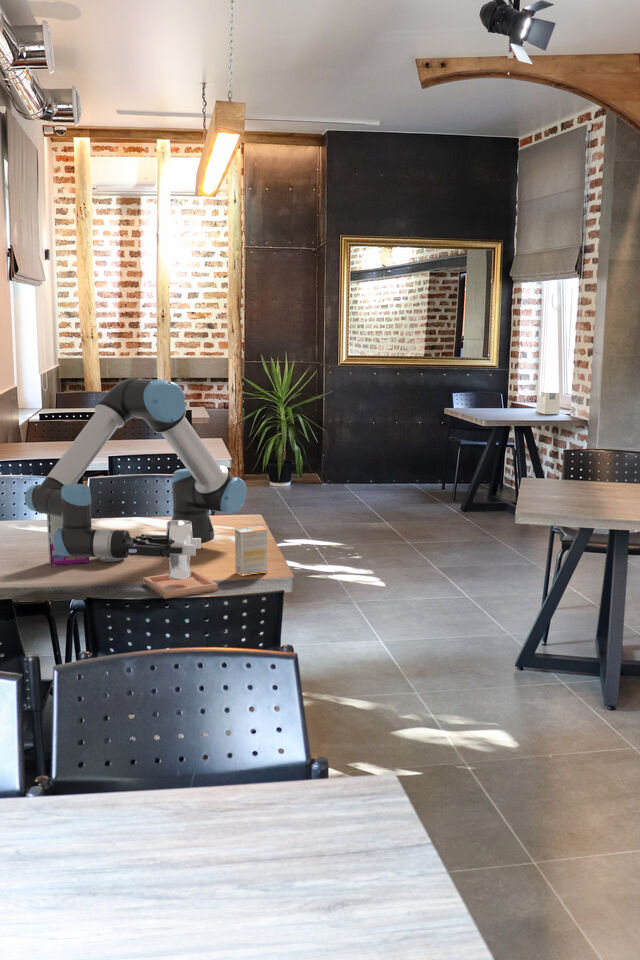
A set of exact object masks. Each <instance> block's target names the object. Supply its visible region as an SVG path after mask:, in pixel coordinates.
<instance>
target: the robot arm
mask: <svg viewBox="0 0 640 960" xmlns="http://www.w3.org/2000/svg"><path fill="white" fill-rule="evenodd" d="M185 401H186V396H185V393H184V390H183V389H182V388H181V386H179V384H177V383H176V382H173V381H170V380H166V379H160V378H158V379H156V378H155V379H152V378H151V379H150V378H139V377H130V378H127V379H124V380H121V381H120V382H118V383H117V384H116V385H114V386H113V387H112V388H111V389H110V390H108V391H107V392H106V393H105V394H104V395H103V396H102V398H101V399H100V400H99V402H98V403H97V404H96V405H95V408H94V410H95V411H94V412H95V413H93V415H92V416H91V417H90V419H89V421H88V422H87V423H86V424H85V426H84V427H83V429H82V430H81V431H80V432H79V434H78V435H77V436H76V438H75V439H74V441H73V442H72V443H71V444H70V445H69V447H68V448H67V449H66V451H65V452H64V453H63V454H62V456H61V457H60V459H59V460H58V461H57V462H56V464H55V466H53V468H52V469H51V470H50V472H49V473H48V474H47V475H46V477H45V478H44V480H43V482H41V484H33V485H32V486H30V487H29V488H27V490H26V492H25V495H24V502H25V506H26V507H27V509H28V510H29V509H30V511H33V512H36V513H38V514H41V515H43V514H44V515H47V514H49V515H53V516H57V517H62V528H59V529H57V530H56V532H55V534H54V540H53V546H54V550H55V552H56V553H57V554H58V555H60V556H70V557H89V558H97V557H101V559H105V558H111V557H114V558H123V559H127V558H128V557H129V556H130V557H131V556H145V557H161V558H166V559H169V558H170V553H171V555H190V556H196V553H197V551H196V549H199V550H200V549H201V548H202V542H207V541H210V540H213V539H214V538H215V530H214V526H213V523H212V520H211V517H210V514H209V512H210V511H212V512H217V513H222V514H231V515H232V514H235V513H237V512H239V511H240V510H241V508H242V507H243V506H244V503H245V501H246V498H247V485H246V483H245V481H244V480H243V479H242V478H240V477H238V476H233V475H232V473H231V472H230V471H229V470H228V468H227V467H226V466H225V465H223V464H218V462H217V460H216V459H215V458H214V456H213V455H212V453H211V452H210V450H209V449H208V447H207V446H206V445H205V444H204V442H203V441H202V439H201V438H200V436H199V434H198V433H197V431H196V430H195V428H194V427H193V426H192V424H191V423H190V422H189V421H188V419H187V417H186V413H187V408H186V407H187V402H185ZM131 419H140V420H144V421H145V422H146V424H147V425H148V426H149V428H150V429H151V430H152V431H153V432H154V433H157V434H161V435H162V437H163V438H164V439H165V441H166V442H167V443H168V445H169V446H170V447H171V448H172V450H173V452H174V453H175V454H176V456H177V457H178V458H179V460H180V461H181V462H182V463H183V465H184V467H185V468H181V469H177V470H175V471H174V472H173V473H172V481H171V488H172V489H171V490H172V516H171V520H170V521H172V520H188V521H191V522H192V536H193V539H192V545H183V544H171V547H170V545H167V544H166V534H165V535H163V534H161V535H159V534H157V535H156V534H155V535H154V534H152V535H151V534H150V535H149V534H141V535H136V536H135V537H131V534H130V531H128V530H127V529H126V530H125V529H122V530H121V529H118V530H115V529H97V528H96V529H94V528H93V527H92V495H91V488H90V486H89V485H87V484H84V483H78V481H79V480H80V479H81V478H82V476H83V475H84V473H85V472H86V471H87V470H88V468H89V467H90V466H91V464H92V463H93V462H94V460H95V458H97V456H98V455H99V453H101V451H102V449H103V447H105V445H106V444H107V442H108V441H109V439H110V438H111V437H112V436H113V434H114V433H115V432H116V430H117V429H120V428H122V427H124V425H125V424H126V423H127V422H128V421H129V420H131ZM113 530H115V531H113Z"/></svg>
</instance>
